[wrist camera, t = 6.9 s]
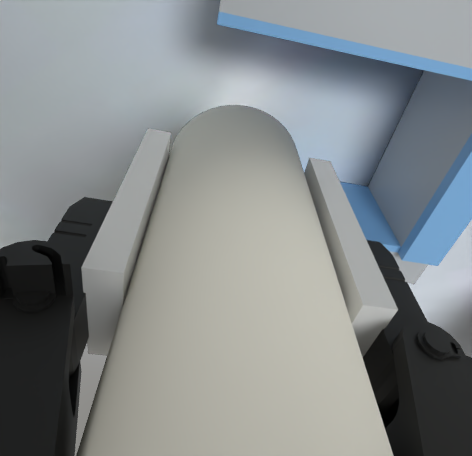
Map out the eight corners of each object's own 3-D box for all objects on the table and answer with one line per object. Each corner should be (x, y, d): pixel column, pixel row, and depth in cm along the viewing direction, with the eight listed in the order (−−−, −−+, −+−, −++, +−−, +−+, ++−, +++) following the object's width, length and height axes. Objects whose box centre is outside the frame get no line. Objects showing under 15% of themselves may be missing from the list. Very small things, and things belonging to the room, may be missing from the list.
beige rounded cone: (175, 92, 12) (21, 477, 3) (315, 119, 13) (504, 508, 4) (164, 210, 15) (66, 586, 6) (279, 228, 15) (339, 595, 7)
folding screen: (309, -590, 9) (401, -1250, 4) (722, -409, 11) (1163, -730, 6) (194, 189, 24) (182, 258, 19) (380, 220, 25) (418, 292, 20)
